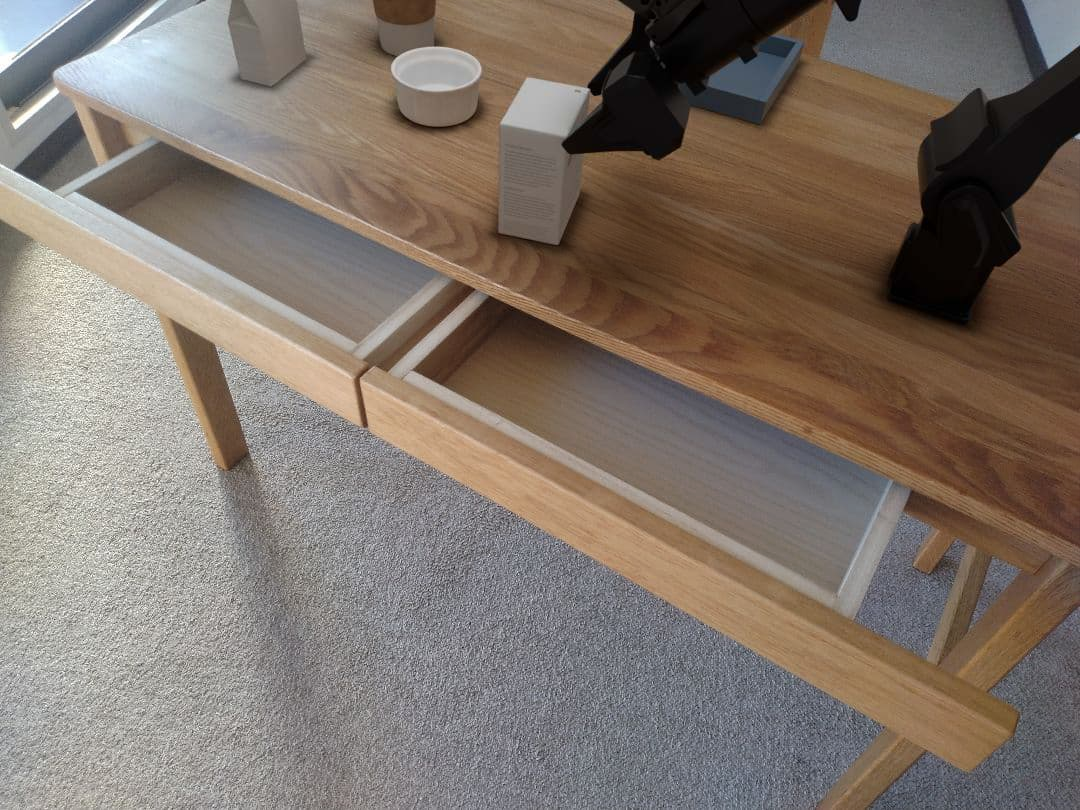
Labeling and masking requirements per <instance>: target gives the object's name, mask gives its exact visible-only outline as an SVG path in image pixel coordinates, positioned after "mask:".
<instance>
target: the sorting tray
mask: <svg viewBox="0 0 1080 810" xmlns="http://www.w3.org/2000/svg"><path fill="white" fill-rule="evenodd" d="M805 43H806V41H805V40H802V39H797V38H795V37H794V38H793V37H789V36H786V35H782V34H777V33H775V34H774V35H772V36H771V37H769V38H768V39H766V40H765V41H763V42H762V43H760V45H759V51H758V56H757V57H756V58H754V59H752V60H751V61H749V62H748V63H746V64H744V63H743V61H742V60H741V58H740V57H739V58H737V59H736V60H734V61H733V62H731V63H730V64H728V65H726V66H725V67H723V68H722V69H720V70H719V71H717V72H716V73H714V74H713V75H711V76H710V78H709V82H708V86H707V89H706V90H704V91H703V92H701V93H700V94H698V95H697V96H694V94H693V93H692V92H691V90H690V89H689V88H688V86H687V85H686V83H685V82H684V83H683V84H680V86H679V90H680V91H681V93H682V94H683V95H684V97H685V98H686V100H687V101H688V102H689V104H690V105H691V106H693V107H697V108H701V109H704V110H708V111H712V112H714V113H718V114H722V115H725V116H729V117H733V118H735V119H740V120H743V121H747V122H750V123H754V124H757V125H761V124H762V122H763V121H764V119H765V118H766V116H767V114H768V113H769V111H770V109H771V108H772V106H773V105H774V103H775V101H776V100H777V98H778V97H779V95H780V93H781V92H782V91H783V89H784V87H785V86H786V84H787V83H788V81H789V79H790V77H791V76H792V75H793V72H794V71H795V69H796V68H797V66H798V64H799V63H800V60H801V57H802V53H803V50H804V46H805Z"/></svg>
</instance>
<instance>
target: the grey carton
mask: <svg viewBox="0 0 1080 810" xmlns="http://www.w3.org/2000/svg"><path fill="white" fill-rule="evenodd" d="M230 1H231V2H230V7H229V11H228V12H229V13H228V18H227V25H228V30H229V34H230V38H231V43H232V47H233V50H234V51H233V52H234V56H235V60H236V64H237V68H238V72H239V77H240V79H241V80H243V81H247V82H251V83H256V84H259V85H262V86H267V87H273V86H274V85H276V84H277V83H278V82H280V81H281V80H282V79H283V78H284V77H286V76H287V75H288V74H290V73H291V72H292V71H293V70H295V69H296V68H297V67H298V66H299V65H301V64H303V62H305V61H306V60H307V58H308V57H307V53H306V46H305V41H304V35H303V29H302V22H301V15H300V11H299V5H298V2H297V0H230Z"/></svg>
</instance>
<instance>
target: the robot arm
mask: <svg viewBox="0 0 1080 810" xmlns="http://www.w3.org/2000/svg"><path fill="white" fill-rule="evenodd" d="M617 1H618V2H619V3H620V4H622V5H624V6H625V7H627V8H628V9H629V10H631V11H632V12H634V13H633V20H632V27H631V32H630V33H629V34H628V35H627V36H626V38H625V39H624V40H623V42H622V43H621V44H620V45H619V46H618V47H617V48H616V50H615V51H614V52H613V53H612V54H611V56H610V57H609V58H608V59H607V61H605V63H604V64H603V65H602V66H601V68H600V69H599V70H598V71H597V72H596V74H594V76H593V77H592V78H591V80H589V82H588V84H587V86H586V88H588V89H590V95H592V96H593V97H598V96H601V102H600V103H598V105H597V106H596V107H595V108H593V110H591V112H590V113H588V116H587V117H586V118H585V119H584V120H583V121H582V122H581V123H580V124H579V125H578V126H577V127H576V128H575V129H574V130H573V131H572V132H571V133H570V134H569V135H568V136H567V137H566V138H565V139H564V140H563V141H562V144H561V145H562V147H563V148H564V149H565V151H566V152H567V153H568V154H570V155H573V154H584V155H585V154H598V153H612V152H643V154H645V155H646V156H648V157H651V159H652V160H656V161H661V160H662V159H664V158H666V157H668V156H669V155H670V154H672V153H674V152H675V151H677V150H679V149H681V148H682V146H683V142H684V138H685V133H686V130H687V127H688V121H689V117H690V114H691V113H690V112H691V107H692V105H690V104H689V102H688V101H687V100H686V98H685V97H684V95H683V94H682V93H681V91H680V90H679V86H680V84H683V83H684V82H685V83H686V85H687V86H688V88H689V89H690V90H691V92H692V93H693V94H694V96H697V95H698V94H700V93H701V92H703V91H704V90H706V89H707V86H708V82H709V78H710V76H711V75H713V74H714V73H716V72H717V71H719V70H720V69H722V68H723V67H725V66H726V65H728V64H730V63H731V62H733V61H734V60H736V59H737V58H739V57H740V58H741V60H742V61H743V63H744V64H746V63H748V62H749V61H751V60H752V59H754V58H756V57H757V56H758V51H759V45H760V43H762V42H763V41H765V40H766V39H768V38H769V37H771V36H772V35H774V34H777V33H778V32H780V31H781V30H783V29H785V28H786V27H788V26H789V25H790V24H792V23H794V22H795V21H796V20H798V19H799V18H801V17H803V16H804V15H806V14H807V13H809V12H810V11H812V10H814V9H815V8H817V7H818V6H819V5H821V4H822V3H824V2H825V1H827V0H617ZM834 2H835V4H836V5H837V7H838V9H839V10H840V12H841V14H842V16H843V17H844V19H845V20H846V22H849V23H852V22H855V21H856V20H857V19H858V16H859V12H860V7H861V5H862V0H834ZM929 126H930V132H929V133H928V135H927V136H926V137H925V138H924V139H923V140H922V142H921V143H920V145H919V147H918V149H919V150H918V151H917V152H918V153H917V162H916V164H917V167H916V168H917V176H918V177H917V178H918V191H919V201H920V203H919V204H920V207H921V211H922V216H921V218H920V220H919V222H918V223H917V222H912V223H910V224H909V226H908V227H907V229H906V232H905V234H904V236H903V238H902V240H901V242H900V245H899V247H898V250H897V251H896V254H895V256H894V258H893V260H892V263H891V266H890V268H889V273H888V275H887V277H888V279H889V280H890V281H891V283H890V285H889V288H888V292H887V298H888V299H889V301H893V302H896V303H898V304H902V305H905V306H908V307H911V308H914V309H917V310H921V311H924V312H927V313H929V314H931V315H932V314H933V315H936V316H939V317H942V318H945V319H948V320H951V321H954V322H957V323H959V324H963V325H965V324H968V323H969V322H970V320H971V319H972V316H973V311H974V306H975V303H976V300H977V299H978V297H979V295H980V294H981V292H982V290H983V288H984V287H985V285H986V283H987V281H988V280H989V279H990V277H991V275H992V273H993V271H994V269H995V268H1001V267H1002V266H1003V265H1005V264H1006V263H1007V262H1008V261H1010V260H1011V259H1012V258H1013V257H1014V256H1015V255H1017V254H1018V253H1019V252H1020V251H1021V249H1022V245H1021V239H1020V234H1019V230H1018V224H1017V220H1016V216H1015V210H1014V205H1015V204H1016V203H1017V202H1018V201H1019V200H1020V199H1022V198H1023V197H1024V196H1025V195H1027V193H1028V192H1030V190H1031V189H1032V188H1033V186H1034V184H1035V183H1036V182H1037V181H1038V179H1039V177H1040V176H1041V175H1042V173H1043V172H1044V171H1045V169H1046V168H1047V166H1049V164H1050V162H1051V161H1052V159H1053V158H1054V157H1055V155H1056V154H1057V152H1058V151H1060V149H1061V148H1062V147H1063V146H1065V145H1066V144H1067V143H1068V142H1070V141H1071V140H1072V139H1074V138H1076V137H1077V136H1078V135H1080V44H1079V45H1078V46H1076V47H1075V48H1074V49H1073V50H1071V51H1070V52H1069V53H1068V54H1066V55H1065V56H1064V57H1062V58H1061V59H1060V60H1058V61H1057V62H1056V63H1055V64H1053V65H1051V67H1049V68H1048V69H1046V70H1045V71H1044V72H1042V74H1040V75H1039V76H1038V77H1037V78H1035V79H1033V81H1031V82H1029V83H1028V84H1027V85H1026V86H1024V87H1022V88H1021V89H1019V90H1017V91H1015V92H1011V93H1009V94H1006V95H1002V96H999V97H996V98H992V99H989V98H988V96H987V95H986V93H985V92H984V91H983V88H981V87H976V88H975V89H973V90H972V91H970V92H969V93H967V95H965V97H964V98H963V99H962V100H961V101H960V102H959V103H958V104H957V105H956V106H955V107H954V108H953V109H952V110H951V111H949V112H948V113H946V114H945V115H943V116H940V117H938V118H935V119H932V120H931V121H930V123H929Z"/></svg>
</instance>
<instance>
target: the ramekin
mask: <svg viewBox="0 0 1080 810" xmlns="http://www.w3.org/2000/svg"><path fill="white" fill-rule="evenodd" d="M390 71H391V72H390V74H391V77H392V79H393V82H394V87H395V95H396V101H397V105H398V108H399V111H400V112H401V114H402V115H404V117H405V118H406V119H408V120H410V121H411V122H413V123H416V124H418V125H422V126H425V127H434V128H435V127H438V128H439V127H441V128H442V127H443V128H444V127H451V126H456V125H459V124H462V123H464V122H466V121H467V120H469V119H470V118H472V117H473V115H474V114H475V113H476V111H477V107H478V103H479V102H478V101H479V89H480V81H481V80H482V79H481V78H482V75H483V74H482V73H483V68H482V65H481V63H480V61H479V60H478V59H477V58H476V57H475V56H473V55H472V54H470V53H468V52H466V51H463V50H460V49H456V48H453V47H446V46H433V47H423V48H417V49H413V50H410V51H407V52H405V53H403V54H401V55H399V56H396V57H395V58H394V60H393V61H392V62H391V65H390Z"/></svg>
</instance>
